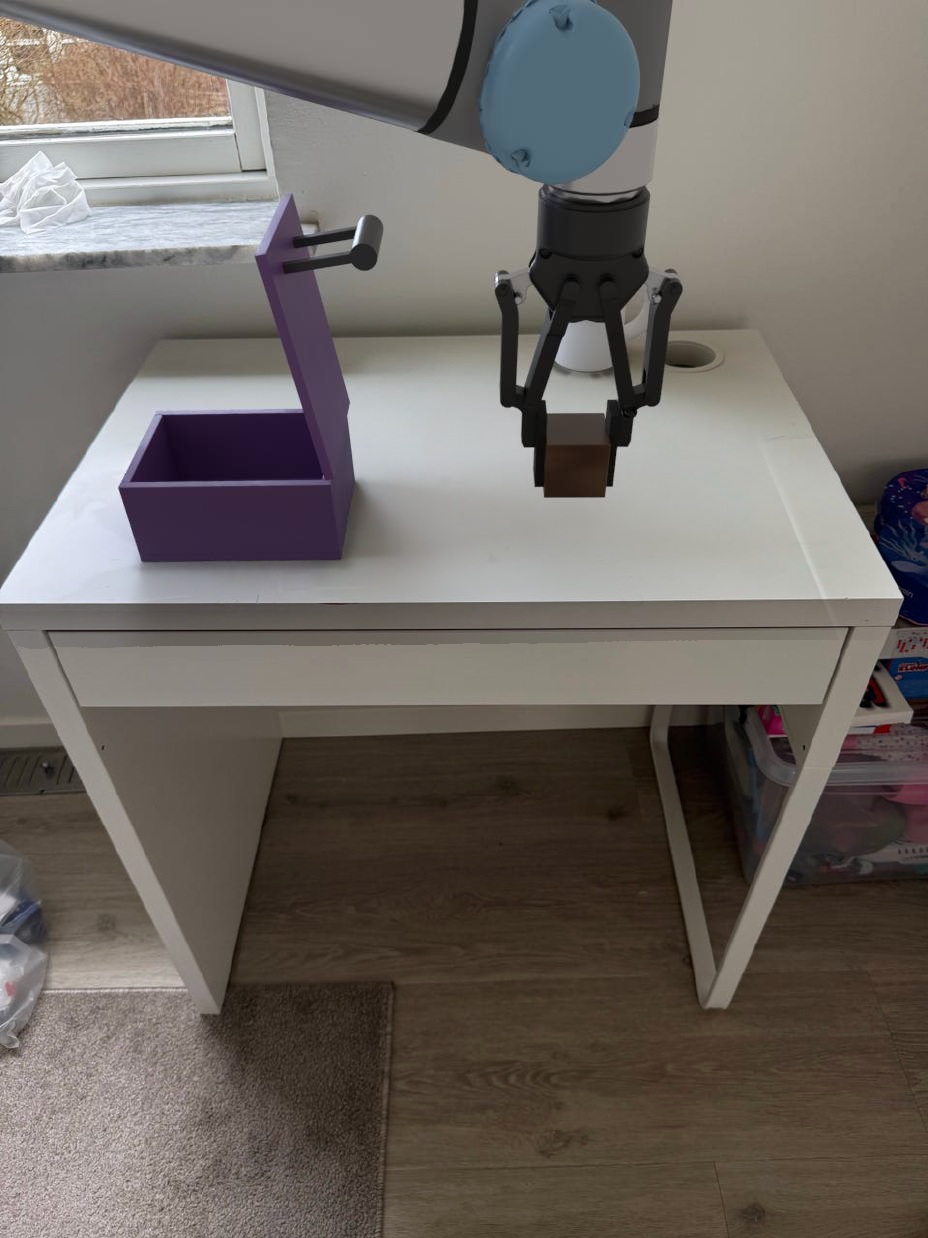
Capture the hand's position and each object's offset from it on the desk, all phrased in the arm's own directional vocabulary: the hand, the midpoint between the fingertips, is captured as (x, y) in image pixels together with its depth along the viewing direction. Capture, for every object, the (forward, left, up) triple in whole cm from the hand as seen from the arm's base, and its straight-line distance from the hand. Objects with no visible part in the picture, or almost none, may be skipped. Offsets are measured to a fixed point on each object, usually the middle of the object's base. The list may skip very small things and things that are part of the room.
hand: (572, 477), depth 79 cm
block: (0, 0, 0) cm, 0 cm away
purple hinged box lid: (-21, -5, +10) cm, 24 cm away
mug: (-10, +35, -7) cm, 37 cm away
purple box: (-28, -9, -7) cm, 30 cm away
